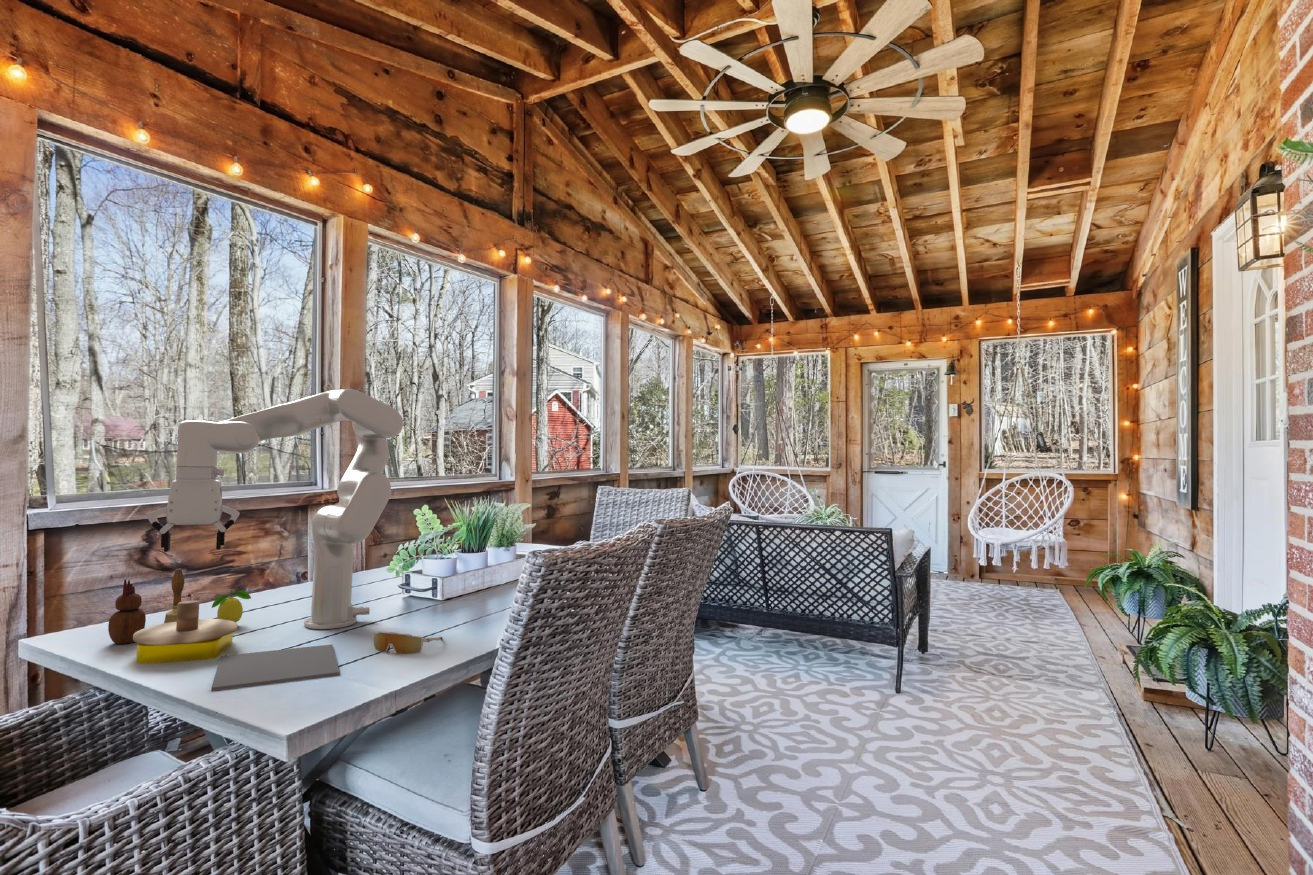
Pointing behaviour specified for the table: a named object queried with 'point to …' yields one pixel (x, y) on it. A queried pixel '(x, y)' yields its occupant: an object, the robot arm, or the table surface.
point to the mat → (275, 666)
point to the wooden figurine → (126, 616)
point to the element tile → (183, 651)
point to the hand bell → (175, 595)
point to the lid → (185, 628)
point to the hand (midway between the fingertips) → (193, 549)
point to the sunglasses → (400, 642)
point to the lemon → (230, 606)
